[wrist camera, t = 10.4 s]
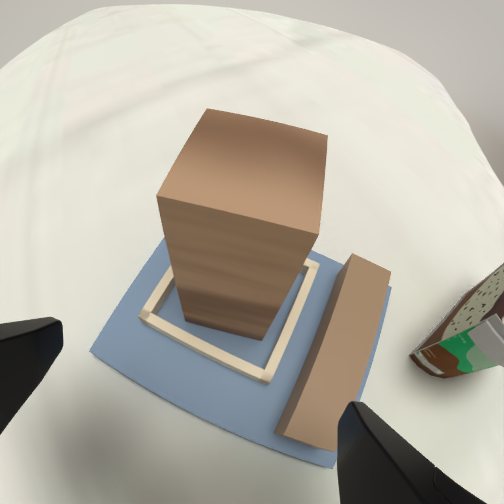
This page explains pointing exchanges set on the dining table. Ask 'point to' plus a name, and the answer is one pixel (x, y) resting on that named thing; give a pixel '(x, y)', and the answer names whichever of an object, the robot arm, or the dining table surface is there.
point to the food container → (468, 333)
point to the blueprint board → (257, 354)
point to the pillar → (241, 218)
